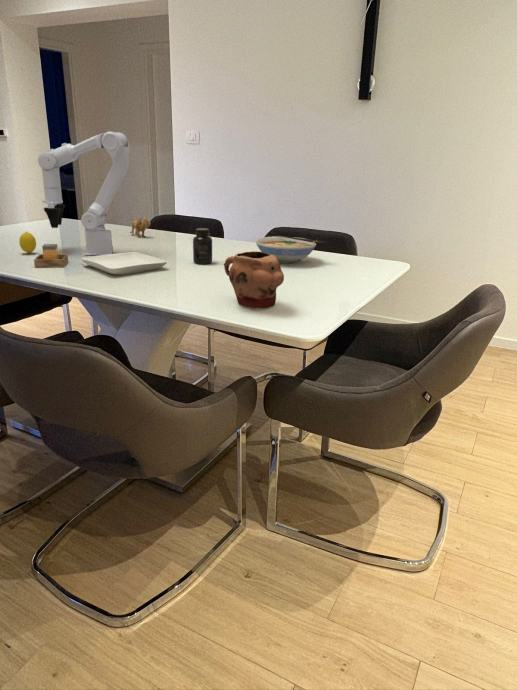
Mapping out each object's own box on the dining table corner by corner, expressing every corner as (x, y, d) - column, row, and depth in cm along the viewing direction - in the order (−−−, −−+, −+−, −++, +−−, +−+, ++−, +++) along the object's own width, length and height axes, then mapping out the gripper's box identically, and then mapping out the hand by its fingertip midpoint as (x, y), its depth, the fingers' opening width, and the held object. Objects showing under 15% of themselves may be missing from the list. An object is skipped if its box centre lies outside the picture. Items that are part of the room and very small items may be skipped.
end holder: (68, 261, 178) (67, 254, 178) (64, 267, 170) (63, 259, 169) (40, 261, 177) (39, 254, 176) (34, 267, 168) (33, 259, 167)
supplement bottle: (215, 262, 186) (216, 228, 182) (206, 265, 180) (206, 231, 176) (199, 260, 188) (199, 226, 184) (189, 263, 183) (189, 229, 178)
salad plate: (134, 259, 187) (134, 250, 185) (169, 270, 173) (168, 260, 172) (79, 267, 173) (79, 257, 171) (112, 279, 159) (111, 268, 157)
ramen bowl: (239, 259, 192) (240, 237, 189) (279, 252, 208) (280, 232, 205) (291, 271, 176) (292, 247, 174) (330, 263, 192) (332, 241, 189)
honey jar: (46, 261, 175) (44, 243, 172) (59, 261, 175) (57, 243, 173) (44, 264, 171) (42, 246, 169) (56, 264, 172) (55, 246, 170)
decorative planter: (208, 302, 139) (208, 250, 134) (235, 293, 148) (236, 244, 143) (269, 317, 129) (272, 262, 123) (294, 306, 138) (297, 255, 133)
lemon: (26, 255, 184) (23, 233, 181) (17, 253, 187) (14, 231, 184) (40, 253, 188) (37, 231, 185) (32, 251, 191) (29, 229, 188)
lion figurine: (152, 238, 227) (151, 217, 224) (142, 239, 224) (141, 218, 221) (135, 233, 237) (134, 213, 234) (124, 234, 234) (123, 214, 230)
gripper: (44, 186, 191) (48, 223, 196) (36, 189, 177) (41, 229, 182) (64, 186, 192) (68, 223, 197) (58, 189, 179) (62, 229, 184)
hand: (56, 226), depth 190 cm, fingers open, 7 cm apart
